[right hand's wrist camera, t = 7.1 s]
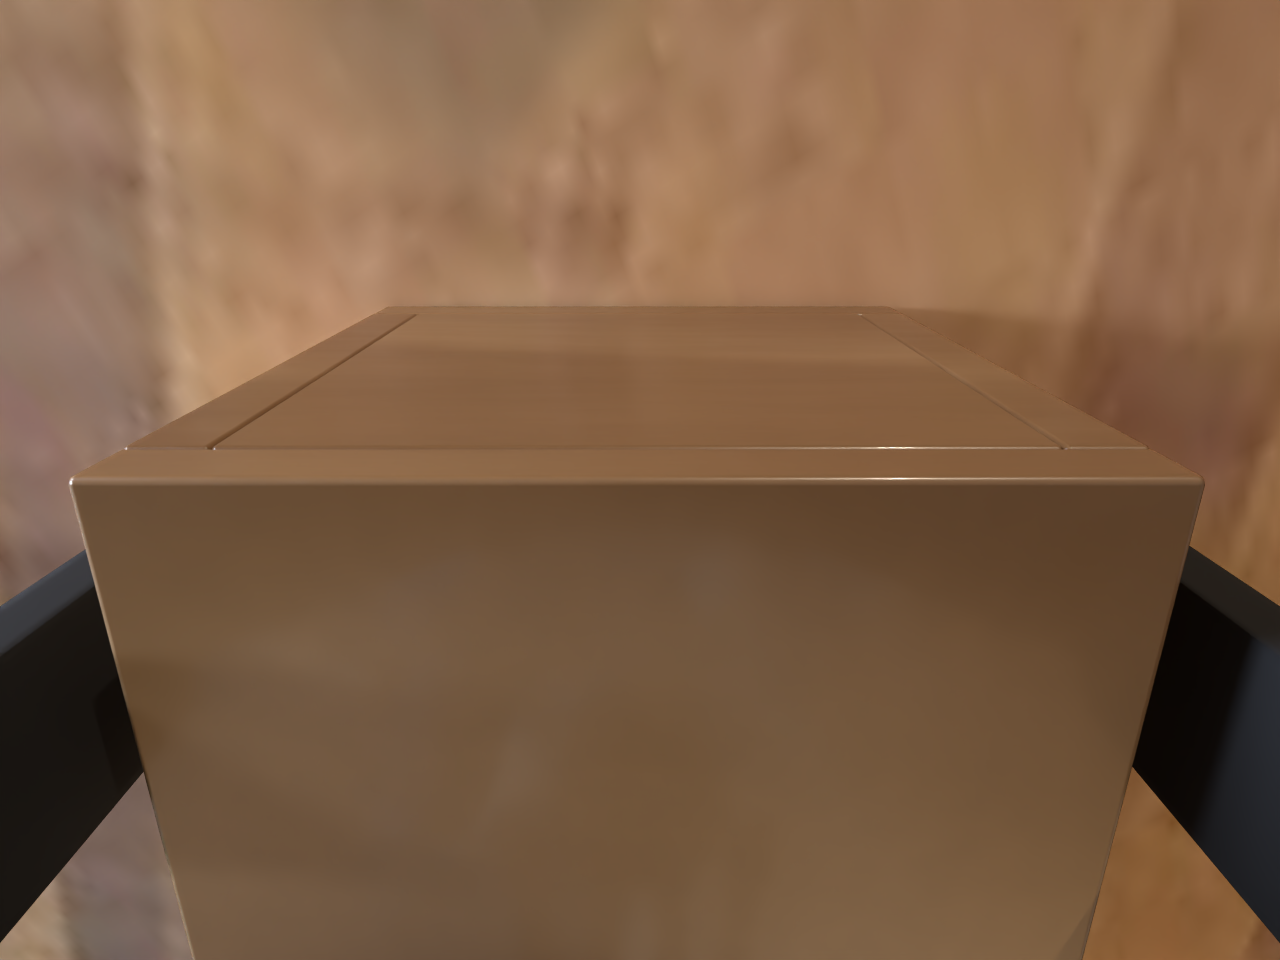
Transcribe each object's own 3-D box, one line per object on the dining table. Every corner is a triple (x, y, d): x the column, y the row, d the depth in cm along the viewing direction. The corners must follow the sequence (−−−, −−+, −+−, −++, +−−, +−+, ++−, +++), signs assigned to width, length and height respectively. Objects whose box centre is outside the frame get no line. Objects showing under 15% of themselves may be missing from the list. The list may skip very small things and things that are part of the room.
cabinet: (818, 988, 25) (937, 1528, 15) (458, 988, 25) (339, 1529, 15) (891, 306, 18) (1210, 476, 8) (385, 306, 18) (61, 477, 8)
